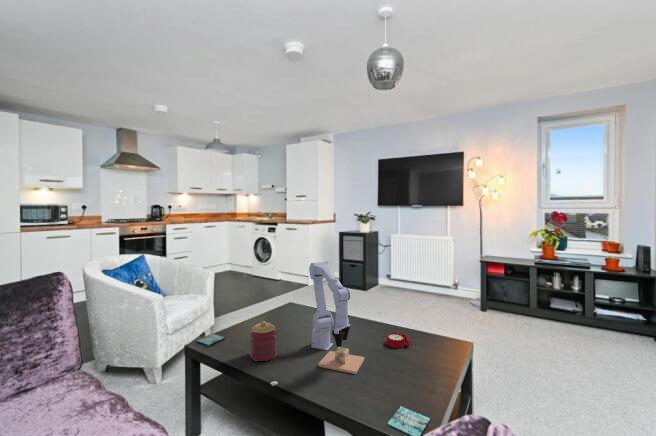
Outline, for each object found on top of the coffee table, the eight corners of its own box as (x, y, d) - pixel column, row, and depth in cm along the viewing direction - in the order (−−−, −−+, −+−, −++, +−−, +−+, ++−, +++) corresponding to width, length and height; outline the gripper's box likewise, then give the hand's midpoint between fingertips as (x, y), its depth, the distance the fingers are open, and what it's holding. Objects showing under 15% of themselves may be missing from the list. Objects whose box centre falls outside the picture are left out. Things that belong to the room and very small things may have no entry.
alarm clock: (381, 333, 171) (407, 326, 171) (384, 344, 171) (410, 337, 172) (386, 341, 160) (414, 334, 161) (389, 353, 161) (416, 346, 161)
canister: (282, 355, 153) (282, 320, 153) (260, 365, 144) (259, 328, 143) (266, 347, 162) (266, 314, 162) (244, 356, 153) (244, 321, 152)
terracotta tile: (318, 366, 143) (318, 363, 143) (329, 353, 156) (329, 350, 156) (355, 374, 136) (355, 371, 136) (364, 359, 149) (364, 357, 149)
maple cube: (335, 361, 144) (335, 351, 144) (339, 357, 149) (338, 346, 149) (345, 364, 142) (345, 353, 142) (348, 359, 147) (348, 348, 147)
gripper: (344, 320, 137) (344, 351, 137) (354, 310, 150) (354, 338, 151) (329, 318, 140) (329, 348, 140) (340, 308, 153) (341, 336, 154)
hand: (341, 343), depth 146 cm, fingers open, 7 cm apart
